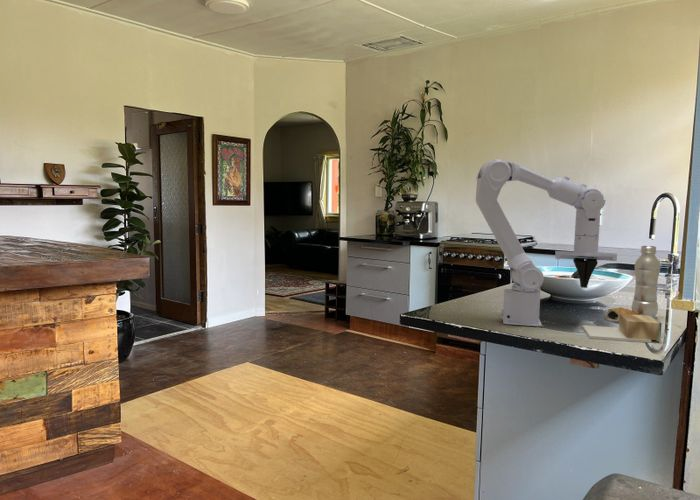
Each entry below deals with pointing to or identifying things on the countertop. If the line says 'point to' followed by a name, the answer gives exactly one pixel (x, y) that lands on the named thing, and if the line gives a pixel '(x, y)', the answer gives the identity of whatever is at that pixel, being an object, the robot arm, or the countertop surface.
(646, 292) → the plastic bottle
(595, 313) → the countertop surface
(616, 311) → the pastry
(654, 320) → the tan green block
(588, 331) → the mat
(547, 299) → the countertop surface
